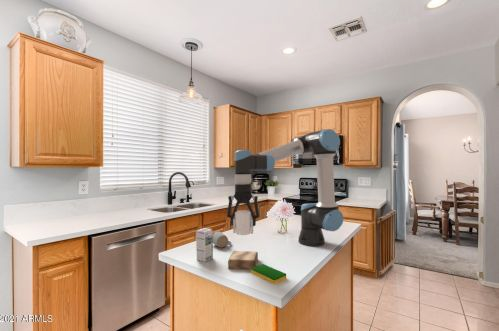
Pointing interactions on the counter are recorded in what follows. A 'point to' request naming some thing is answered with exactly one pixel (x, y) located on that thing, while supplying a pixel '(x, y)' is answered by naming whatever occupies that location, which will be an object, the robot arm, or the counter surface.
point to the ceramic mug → (220, 239)
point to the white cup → (243, 222)
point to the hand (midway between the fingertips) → (243, 232)
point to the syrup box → (204, 244)
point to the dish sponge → (268, 273)
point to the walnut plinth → (243, 260)
